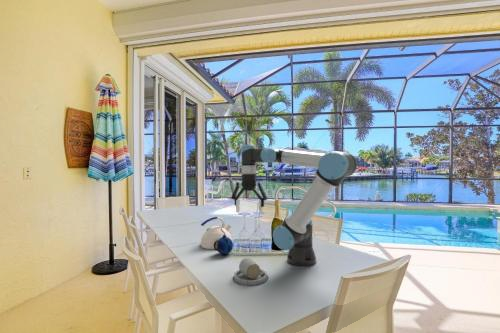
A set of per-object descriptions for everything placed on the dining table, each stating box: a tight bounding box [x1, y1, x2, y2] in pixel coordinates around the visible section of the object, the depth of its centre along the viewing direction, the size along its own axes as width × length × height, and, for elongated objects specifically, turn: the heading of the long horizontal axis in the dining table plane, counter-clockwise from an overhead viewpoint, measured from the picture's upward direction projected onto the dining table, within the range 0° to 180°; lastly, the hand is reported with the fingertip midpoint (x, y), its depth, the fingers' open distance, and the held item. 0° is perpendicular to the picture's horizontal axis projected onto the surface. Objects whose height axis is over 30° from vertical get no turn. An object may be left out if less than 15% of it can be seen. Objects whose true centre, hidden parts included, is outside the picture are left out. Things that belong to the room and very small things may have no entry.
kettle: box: [200, 216, 233, 250], centre depth 180 cm, size 20×21×18 cm
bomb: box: [213, 228, 234, 255], centre depth 160 cm, size 10×11×15 cm
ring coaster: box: [232, 268, 269, 286], centre depth 127 cm, size 16×16×2 cm
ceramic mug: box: [238, 257, 265, 279], centre depth 127 cm, size 11×8×8 cm
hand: (249, 212), depth 152 cm, fingers open, 13 cm apart
